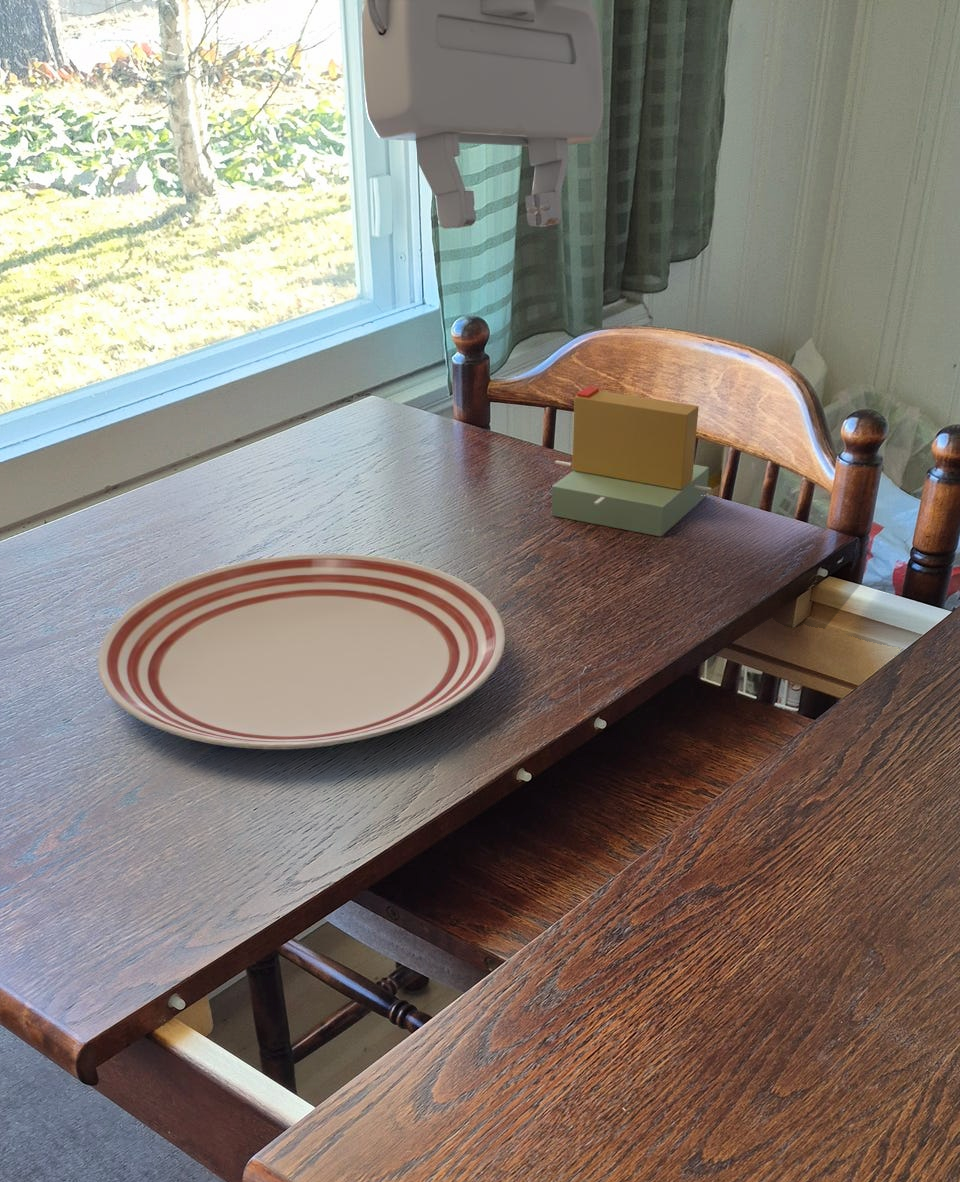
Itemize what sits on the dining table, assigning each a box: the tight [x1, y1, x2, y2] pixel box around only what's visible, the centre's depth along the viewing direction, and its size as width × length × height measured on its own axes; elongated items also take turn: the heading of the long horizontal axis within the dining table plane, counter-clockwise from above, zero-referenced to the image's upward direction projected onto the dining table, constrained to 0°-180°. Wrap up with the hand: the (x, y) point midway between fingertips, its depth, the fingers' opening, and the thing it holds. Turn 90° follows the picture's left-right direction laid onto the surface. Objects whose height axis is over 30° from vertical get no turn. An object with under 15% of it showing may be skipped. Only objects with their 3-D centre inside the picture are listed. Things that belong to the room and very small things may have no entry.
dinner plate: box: [97, 553, 506, 750], centre depth 98 cm, size 27×27×3 cm
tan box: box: [571, 386, 699, 490], centre depth 118 cm, size 10×2×6 cm, turn 62°
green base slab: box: [551, 460, 713, 538], centre depth 121 cm, size 14×14×3 cm
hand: (503, 226), depth 89 cm, fingers open, 8 cm apart
